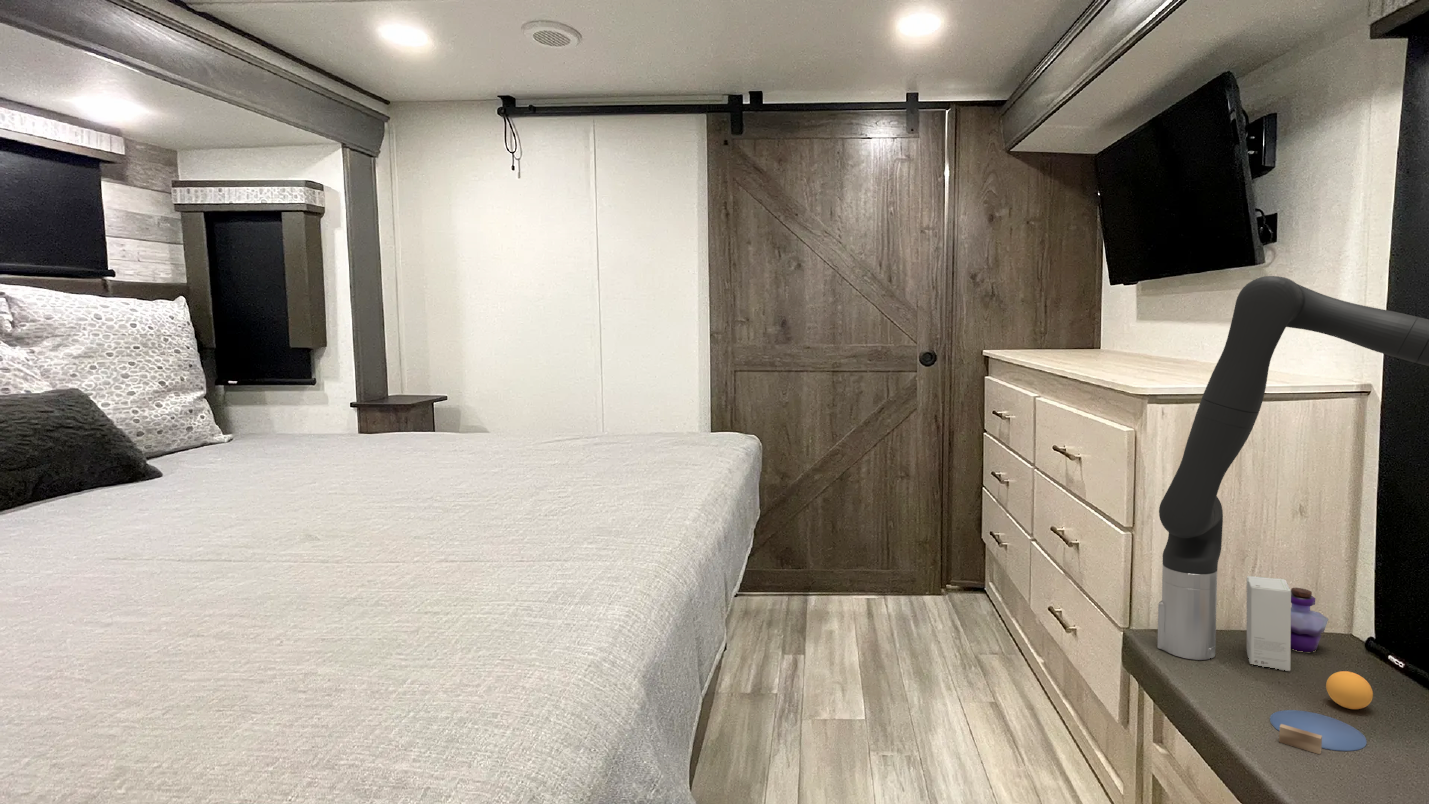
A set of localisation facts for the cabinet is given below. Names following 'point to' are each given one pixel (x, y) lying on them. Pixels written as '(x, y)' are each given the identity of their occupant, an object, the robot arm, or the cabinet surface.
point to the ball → (1349, 690)
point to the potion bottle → (1305, 621)
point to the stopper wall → (1300, 739)
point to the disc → (1322, 729)
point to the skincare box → (1269, 622)
